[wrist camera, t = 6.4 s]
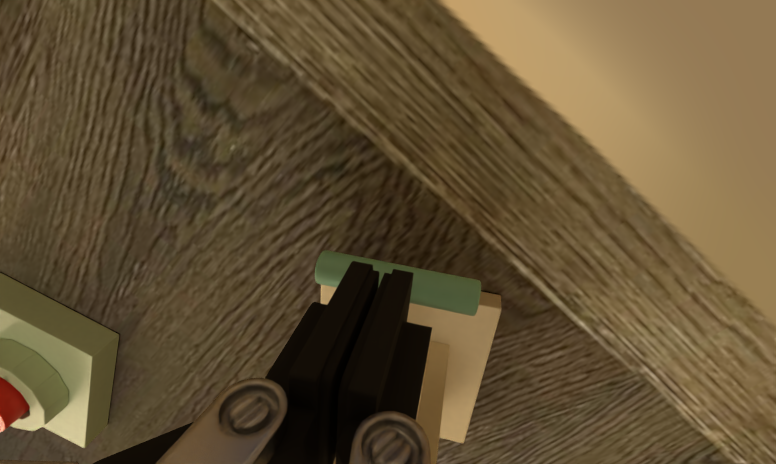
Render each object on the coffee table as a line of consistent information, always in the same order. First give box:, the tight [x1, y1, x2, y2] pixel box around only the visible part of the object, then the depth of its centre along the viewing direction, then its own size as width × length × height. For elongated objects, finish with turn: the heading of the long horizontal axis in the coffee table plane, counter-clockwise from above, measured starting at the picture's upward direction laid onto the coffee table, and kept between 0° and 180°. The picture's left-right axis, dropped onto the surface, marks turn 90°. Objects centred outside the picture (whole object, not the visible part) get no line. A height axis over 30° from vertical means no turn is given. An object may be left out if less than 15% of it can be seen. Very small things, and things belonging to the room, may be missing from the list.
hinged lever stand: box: [321, 284, 502, 464], centre depth 17 cm, size 10×9×13 cm
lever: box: [315, 250, 481, 316], centre depth 13 cm, size 12×6×2 cm, turn 174°
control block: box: [0, 273, 119, 448], centre depth 29 cm, size 12×10×4 cm
